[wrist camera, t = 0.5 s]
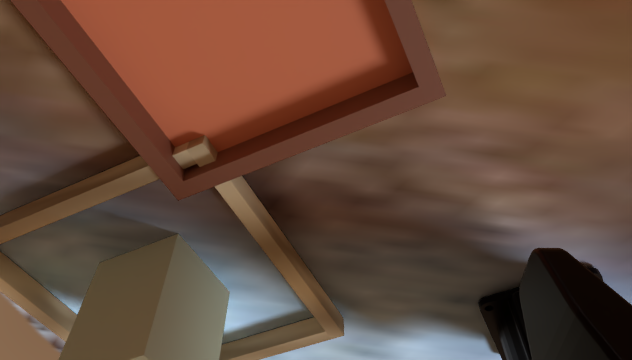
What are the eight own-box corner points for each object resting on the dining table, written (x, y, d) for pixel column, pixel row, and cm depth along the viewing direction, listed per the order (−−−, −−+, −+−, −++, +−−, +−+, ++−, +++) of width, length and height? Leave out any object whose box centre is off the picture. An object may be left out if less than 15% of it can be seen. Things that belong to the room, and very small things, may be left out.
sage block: (229, 291, 30) (210, 412, 24) (155, 315, 31) (122, 435, 26) (178, 233, 27) (143, 355, 22) (99, 262, 28) (47, 384, 23)
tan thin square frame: (343, 317, 31) (344, 335, 30) (139, 377, 35) (134, 394, 34) (207, 127, 23) (202, 143, 22) (-40, 232, 27) (-53, 250, 26)
